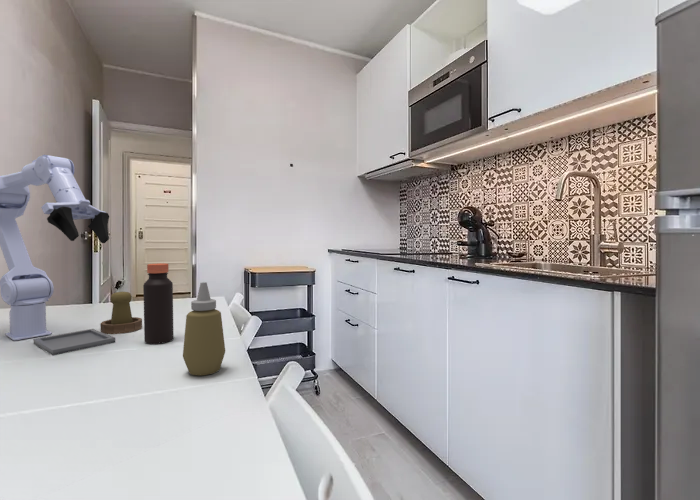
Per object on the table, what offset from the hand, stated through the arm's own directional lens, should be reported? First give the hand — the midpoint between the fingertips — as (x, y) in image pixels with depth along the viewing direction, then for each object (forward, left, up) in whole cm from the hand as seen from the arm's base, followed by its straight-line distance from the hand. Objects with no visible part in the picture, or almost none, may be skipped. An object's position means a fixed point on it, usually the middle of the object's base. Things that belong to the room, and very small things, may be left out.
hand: (90, 239), depth 89 cm
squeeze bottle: (+35, +8, -27) cm, 44 cm away
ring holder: (-14, +12, -26) cm, 32 cm away
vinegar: (+6, +13, -27) cm, 30 cm away
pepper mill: (-14, +12, -27) cm, 32 cm away
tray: (-9, -1, -26) cm, 28 cm away
